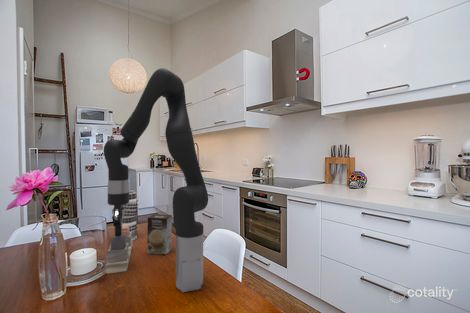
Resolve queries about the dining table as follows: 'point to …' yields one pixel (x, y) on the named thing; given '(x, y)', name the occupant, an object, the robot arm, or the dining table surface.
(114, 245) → the charcoal plunger
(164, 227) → the coffee box
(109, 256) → the button board
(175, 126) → the robot arm
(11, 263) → the dining table surface
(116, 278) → the dining table surface
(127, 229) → the terracotta plunger
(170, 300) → the dining table surface
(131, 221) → the decorative candle
